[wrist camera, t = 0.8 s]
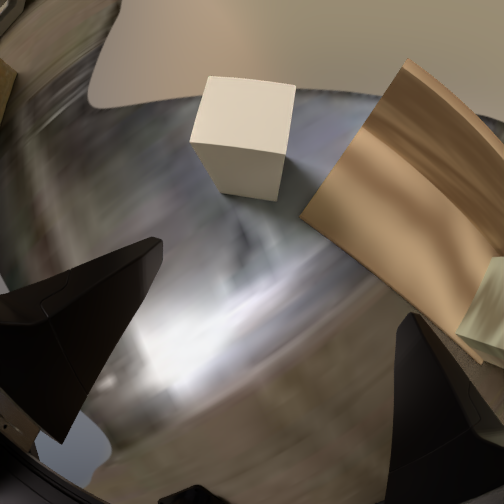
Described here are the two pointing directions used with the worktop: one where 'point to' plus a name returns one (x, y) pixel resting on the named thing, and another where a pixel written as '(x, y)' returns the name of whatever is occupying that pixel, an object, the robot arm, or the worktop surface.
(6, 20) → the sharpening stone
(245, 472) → the worktop surface
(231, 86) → the bookend
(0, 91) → the caddy
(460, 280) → the wooden stand
